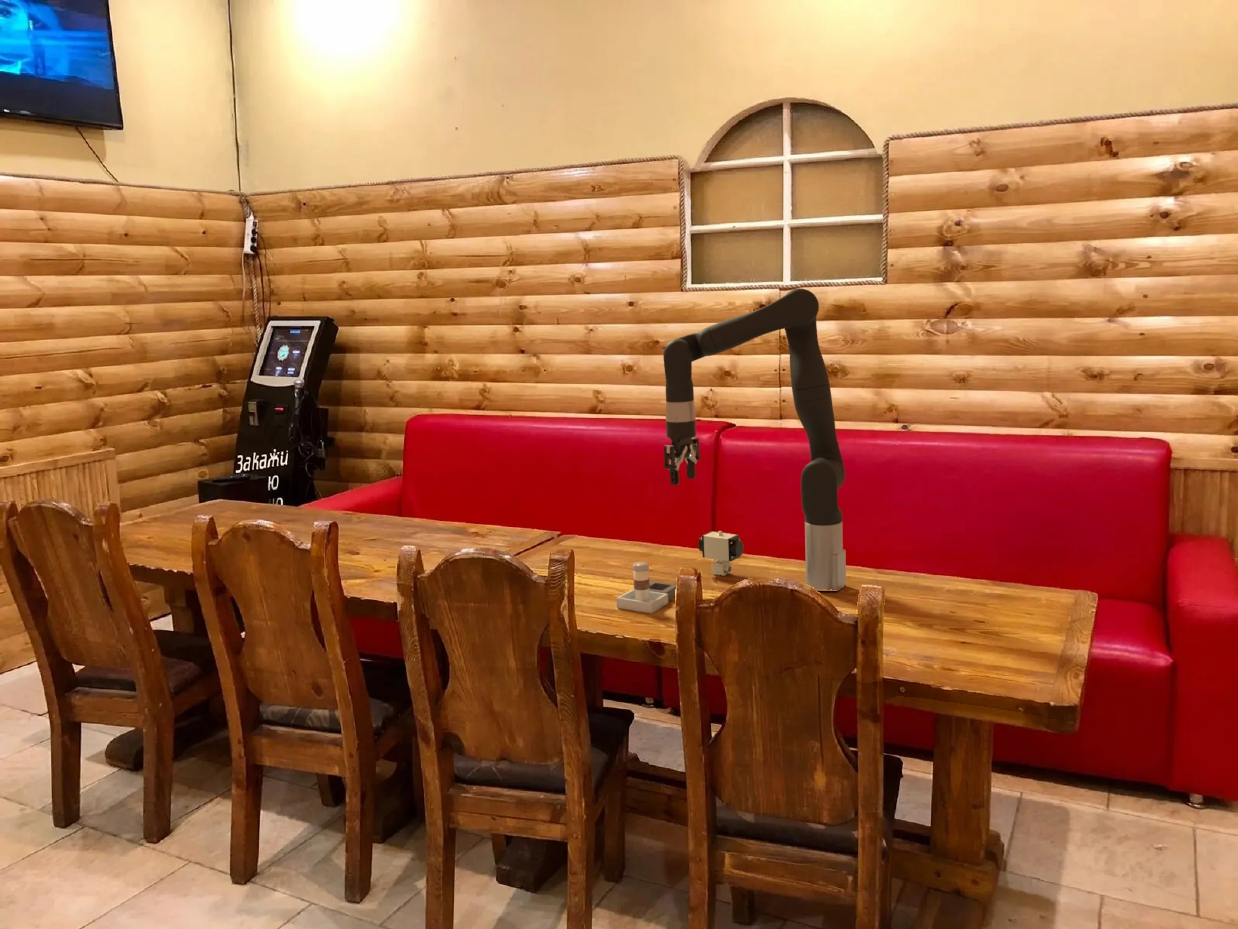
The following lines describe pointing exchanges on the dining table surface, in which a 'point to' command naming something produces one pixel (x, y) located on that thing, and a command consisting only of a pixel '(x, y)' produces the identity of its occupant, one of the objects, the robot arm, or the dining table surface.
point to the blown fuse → (641, 581)
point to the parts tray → (642, 602)
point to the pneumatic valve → (721, 550)
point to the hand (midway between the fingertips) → (683, 481)
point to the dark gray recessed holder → (663, 588)
